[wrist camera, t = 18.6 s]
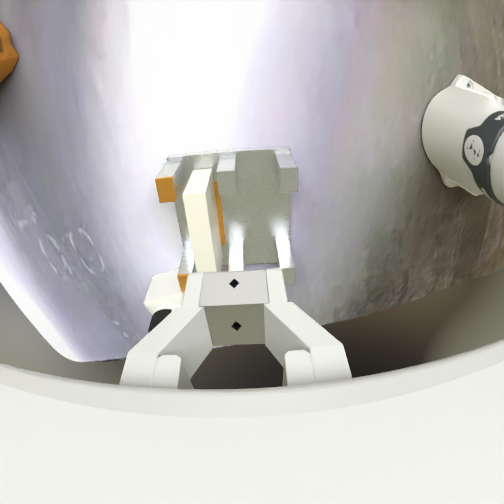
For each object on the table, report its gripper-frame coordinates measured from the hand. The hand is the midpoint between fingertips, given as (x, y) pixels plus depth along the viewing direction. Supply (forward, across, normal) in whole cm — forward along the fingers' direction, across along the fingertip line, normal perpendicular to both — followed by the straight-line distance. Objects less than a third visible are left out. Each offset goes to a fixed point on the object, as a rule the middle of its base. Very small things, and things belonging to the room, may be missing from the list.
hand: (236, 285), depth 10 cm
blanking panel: (+30, +5, +13) cm, 33 cm away
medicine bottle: (+31, +13, +27) cm, 43 cm away
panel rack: (+31, +2, +13) cm, 34 cm away
